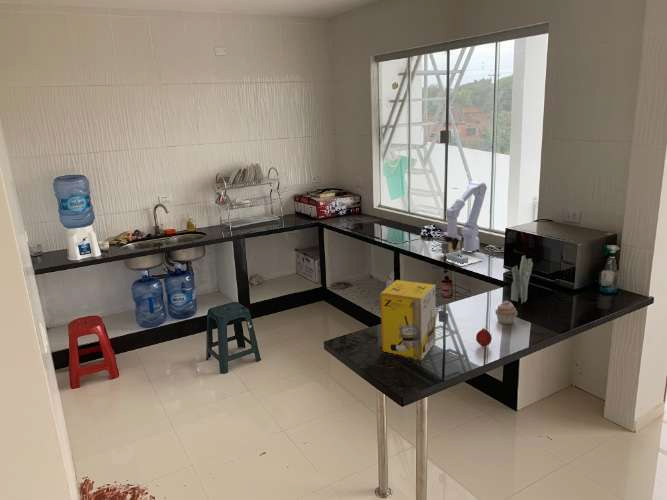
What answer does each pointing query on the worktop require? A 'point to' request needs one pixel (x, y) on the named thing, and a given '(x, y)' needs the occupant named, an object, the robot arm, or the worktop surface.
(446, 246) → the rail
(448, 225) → the robot arm
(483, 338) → the onion
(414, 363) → the worktop surface
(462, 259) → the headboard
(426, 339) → the packaging box
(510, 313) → the cupcake
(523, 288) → the pale green stalk cluster
